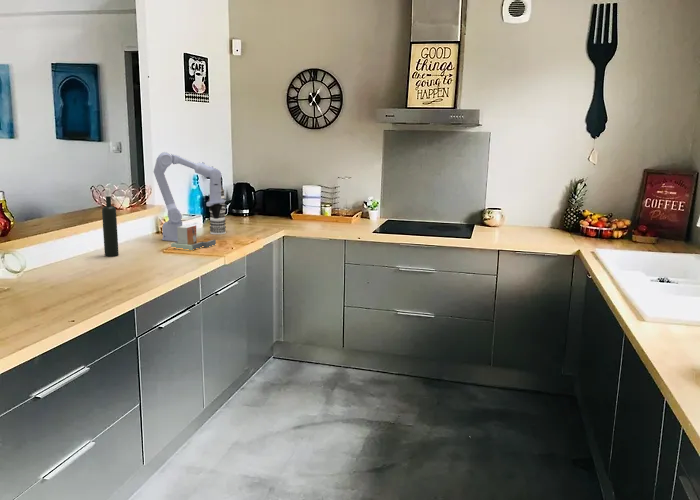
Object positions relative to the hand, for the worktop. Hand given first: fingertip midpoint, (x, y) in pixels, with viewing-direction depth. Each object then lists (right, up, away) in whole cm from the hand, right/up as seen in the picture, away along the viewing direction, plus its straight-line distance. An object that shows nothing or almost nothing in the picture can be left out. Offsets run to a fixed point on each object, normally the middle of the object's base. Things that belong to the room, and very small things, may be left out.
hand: (216, 218), depth 307 cm
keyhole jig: (-8, -15, -20) cm, 26 cm away
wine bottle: (-37, -19, -43) cm, 59 cm away
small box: (-9, -15, -22) cm, 28 cm away
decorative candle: (-3, -7, +16) cm, 18 cm away
